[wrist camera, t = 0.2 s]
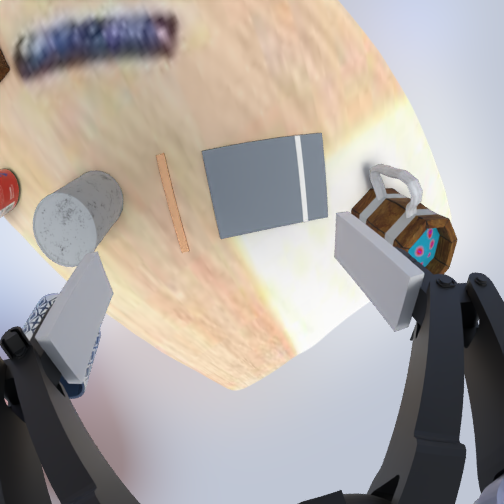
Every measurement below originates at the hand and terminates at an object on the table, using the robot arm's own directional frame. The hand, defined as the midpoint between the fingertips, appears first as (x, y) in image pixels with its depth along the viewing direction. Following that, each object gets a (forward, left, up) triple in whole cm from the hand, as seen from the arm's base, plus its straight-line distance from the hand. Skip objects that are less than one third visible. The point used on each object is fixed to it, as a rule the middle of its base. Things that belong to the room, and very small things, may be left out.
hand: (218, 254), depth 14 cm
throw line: (+5, -7, -28) cm, 29 cm away
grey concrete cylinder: (+1, -19, -28) cm, 33 cm away
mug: (+12, +27, -28) cm, 41 cm away
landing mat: (+5, +8, -28) cm, 29 cm away
